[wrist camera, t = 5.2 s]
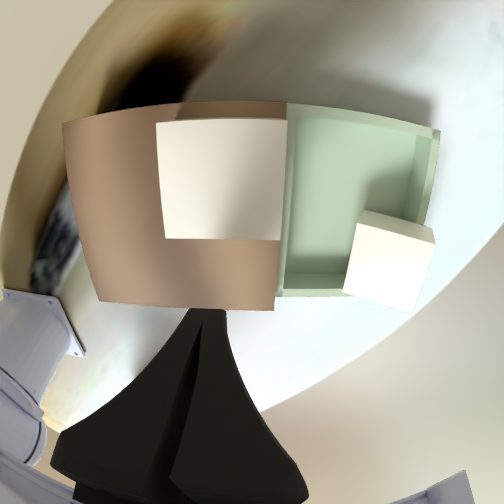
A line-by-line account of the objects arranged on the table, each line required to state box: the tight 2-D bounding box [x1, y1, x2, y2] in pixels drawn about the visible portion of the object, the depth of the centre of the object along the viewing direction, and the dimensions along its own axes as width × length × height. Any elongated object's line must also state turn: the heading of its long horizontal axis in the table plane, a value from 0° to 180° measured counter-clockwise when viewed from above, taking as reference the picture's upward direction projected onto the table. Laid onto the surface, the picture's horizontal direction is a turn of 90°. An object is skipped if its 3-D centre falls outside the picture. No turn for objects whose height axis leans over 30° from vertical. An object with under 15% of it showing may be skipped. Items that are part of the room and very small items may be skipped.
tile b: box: [156, 117, 287, 240], centre depth 11 cm, size 4×4×2 cm
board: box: [62, 100, 287, 311], centre depth 14 cm, size 11×11×4 cm
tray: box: [275, 103, 441, 297], centre depth 15 cm, size 9×11×2 cm
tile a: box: [342, 210, 435, 312], centre depth 15 cm, size 4×4×2 cm
